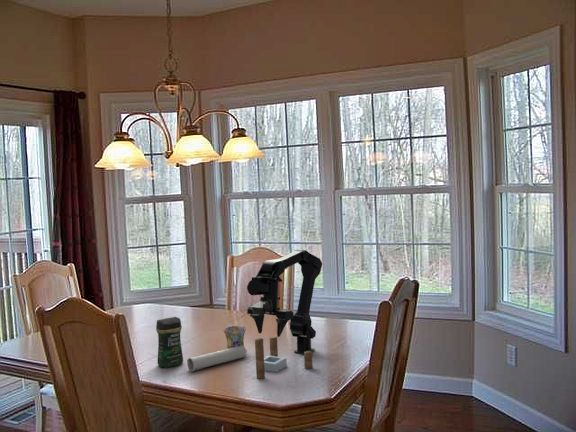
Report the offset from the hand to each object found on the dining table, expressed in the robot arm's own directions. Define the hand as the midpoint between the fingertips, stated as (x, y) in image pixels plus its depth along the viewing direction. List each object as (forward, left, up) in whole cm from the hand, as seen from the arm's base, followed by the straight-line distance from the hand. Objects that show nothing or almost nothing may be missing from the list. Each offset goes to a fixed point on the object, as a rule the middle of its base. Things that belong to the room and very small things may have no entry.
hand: (269, 335), depth 211 cm
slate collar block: (+1, +2, -12) cm, 12 cm away
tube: (+6, -20, -12) cm, 24 cm away
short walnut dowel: (-4, +15, -12) cm, 19 cm away
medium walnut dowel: (-7, -2, -12) cm, 14 cm away
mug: (-7, -22, -12) cm, 27 cm away
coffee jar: (+14, -37, -12) cm, 42 cm away
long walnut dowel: (+12, +4, -12) cm, 18 cm away
